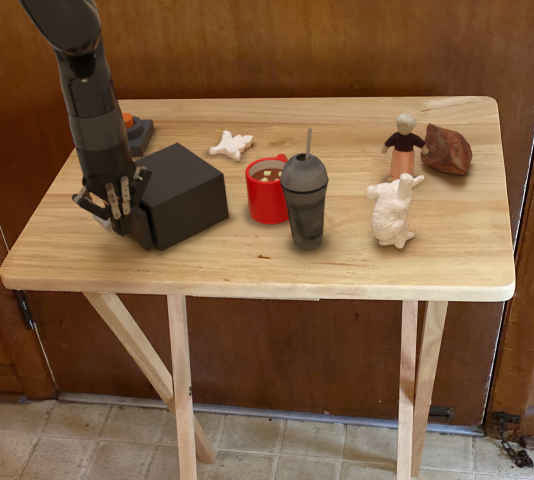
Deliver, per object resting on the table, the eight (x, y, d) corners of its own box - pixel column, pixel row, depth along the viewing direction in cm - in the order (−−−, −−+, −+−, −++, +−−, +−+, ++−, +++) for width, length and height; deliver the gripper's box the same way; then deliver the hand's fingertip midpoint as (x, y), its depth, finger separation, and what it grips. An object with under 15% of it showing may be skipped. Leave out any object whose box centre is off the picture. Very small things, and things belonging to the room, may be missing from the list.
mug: (307, 185, 141) (305, 145, 136) (289, 226, 133) (286, 185, 127) (263, 181, 143) (259, 142, 138) (243, 221, 135) (238, 180, 129)
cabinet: (160, 251, 130) (151, 207, 124) (118, 215, 139) (107, 172, 133) (229, 217, 136) (223, 173, 130) (184, 184, 144) (177, 142, 138)
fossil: (473, 174, 133) (451, 117, 131) (425, 193, 137) (403, 137, 135) (481, 161, 144) (461, 108, 142) (437, 178, 148) (416, 127, 146)
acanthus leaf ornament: (224, 136, 156) (223, 127, 154) (257, 142, 153) (256, 133, 152) (206, 155, 151) (204, 146, 150) (238, 161, 148) (237, 152, 147)
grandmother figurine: (382, 188, 139) (383, 121, 130) (379, 176, 141) (381, 109, 133) (427, 185, 138) (432, 118, 130) (424, 173, 141) (428, 106, 132)
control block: (142, 156, 152) (138, 137, 150) (101, 156, 154) (96, 137, 151) (154, 129, 160) (151, 110, 157) (115, 129, 161) (111, 111, 158)
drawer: (124, 262, 127) (115, 226, 123) (87, 228, 135) (77, 193, 130) (211, 218, 134) (206, 184, 130) (171, 188, 142) (165, 154, 137)
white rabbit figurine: (420, 228, 129) (424, 163, 121) (421, 254, 125) (425, 188, 117) (367, 227, 131) (367, 162, 123) (365, 253, 126) (365, 187, 118)
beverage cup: (285, 229, 132) (276, 117, 119) (330, 227, 132) (326, 115, 118) (284, 257, 127) (275, 143, 113) (331, 255, 126) (327, 141, 113)
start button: (131, 130, 153) (129, 122, 151) (113, 130, 153) (111, 122, 152) (136, 121, 155) (134, 112, 154) (118, 121, 156) (116, 112, 155)
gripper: (126, 109, 120) (147, 206, 132) (46, 142, 115) (75, 240, 126) (153, 127, 115) (172, 226, 127) (70, 162, 110) (98, 262, 122)
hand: (123, 233), depth 127 cm, fingers closed
